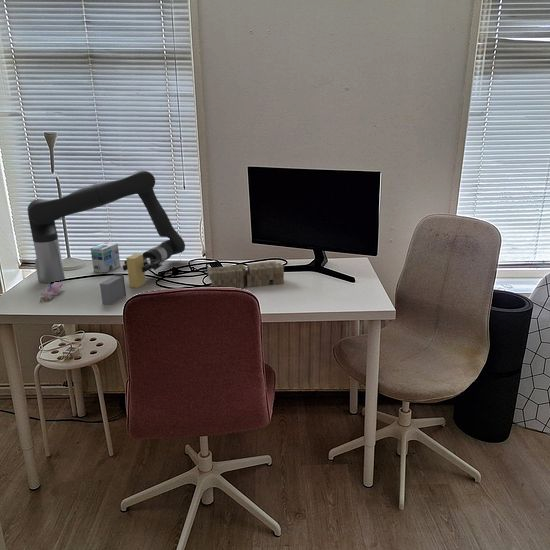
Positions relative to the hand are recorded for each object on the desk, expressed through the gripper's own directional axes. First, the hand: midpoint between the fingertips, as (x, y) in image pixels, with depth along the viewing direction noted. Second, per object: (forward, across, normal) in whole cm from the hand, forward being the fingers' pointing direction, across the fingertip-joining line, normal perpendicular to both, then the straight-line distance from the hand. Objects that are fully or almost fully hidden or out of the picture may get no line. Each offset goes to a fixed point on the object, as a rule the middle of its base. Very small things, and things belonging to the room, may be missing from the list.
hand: (133, 269), depth 193 cm
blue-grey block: (+14, 0, +7) cm, 16 cm away
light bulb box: (-17, -25, +8) cm, 31 cm away
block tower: (-13, +42, +8) cm, 45 cm away
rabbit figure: (+16, -26, +8) cm, 31 cm away
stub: (-2, 0, +7) cm, 8 cm away
